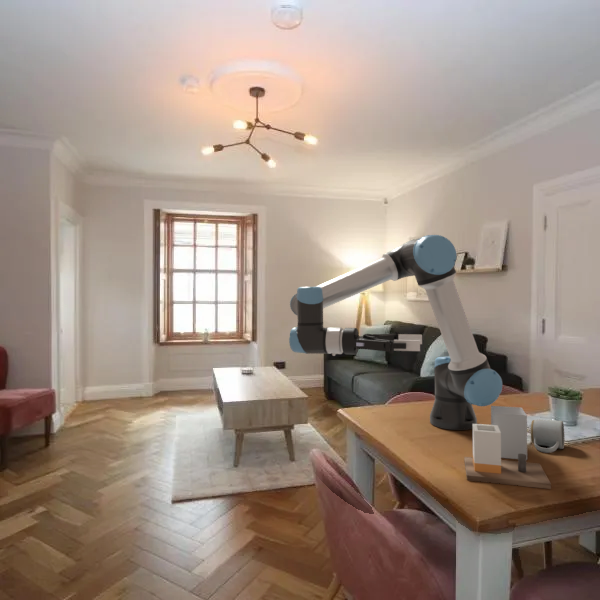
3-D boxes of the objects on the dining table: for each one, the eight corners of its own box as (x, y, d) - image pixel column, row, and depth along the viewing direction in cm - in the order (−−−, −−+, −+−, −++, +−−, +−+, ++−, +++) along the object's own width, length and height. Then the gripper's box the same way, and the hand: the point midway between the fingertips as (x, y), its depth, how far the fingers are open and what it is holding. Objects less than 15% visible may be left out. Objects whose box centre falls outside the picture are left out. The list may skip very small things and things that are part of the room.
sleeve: (472, 461, 114) (472, 423, 114) (498, 464, 112) (497, 425, 112) (474, 471, 108) (474, 430, 108) (501, 473, 106) (500, 432, 106)
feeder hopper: (490, 446, 127) (490, 405, 127) (521, 449, 125) (521, 407, 124) (494, 457, 120) (493, 413, 119) (527, 459, 117) (526, 415, 117)
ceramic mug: (533, 439, 133) (533, 414, 132) (564, 444, 128) (564, 418, 128) (528, 450, 124) (528, 424, 124) (561, 456, 119) (561, 429, 119)
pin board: (464, 461, 117) (464, 441, 117) (539, 468, 112) (539, 448, 112) (467, 480, 106) (466, 458, 106) (550, 489, 100) (550, 466, 100)
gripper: (352, 348, 136) (422, 349, 130) (333, 361, 112) (419, 364, 106) (351, 324, 136) (422, 324, 130) (333, 332, 112) (418, 333, 106)
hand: (421, 342), depth 118 cm, fingers open, 13 cm apart
